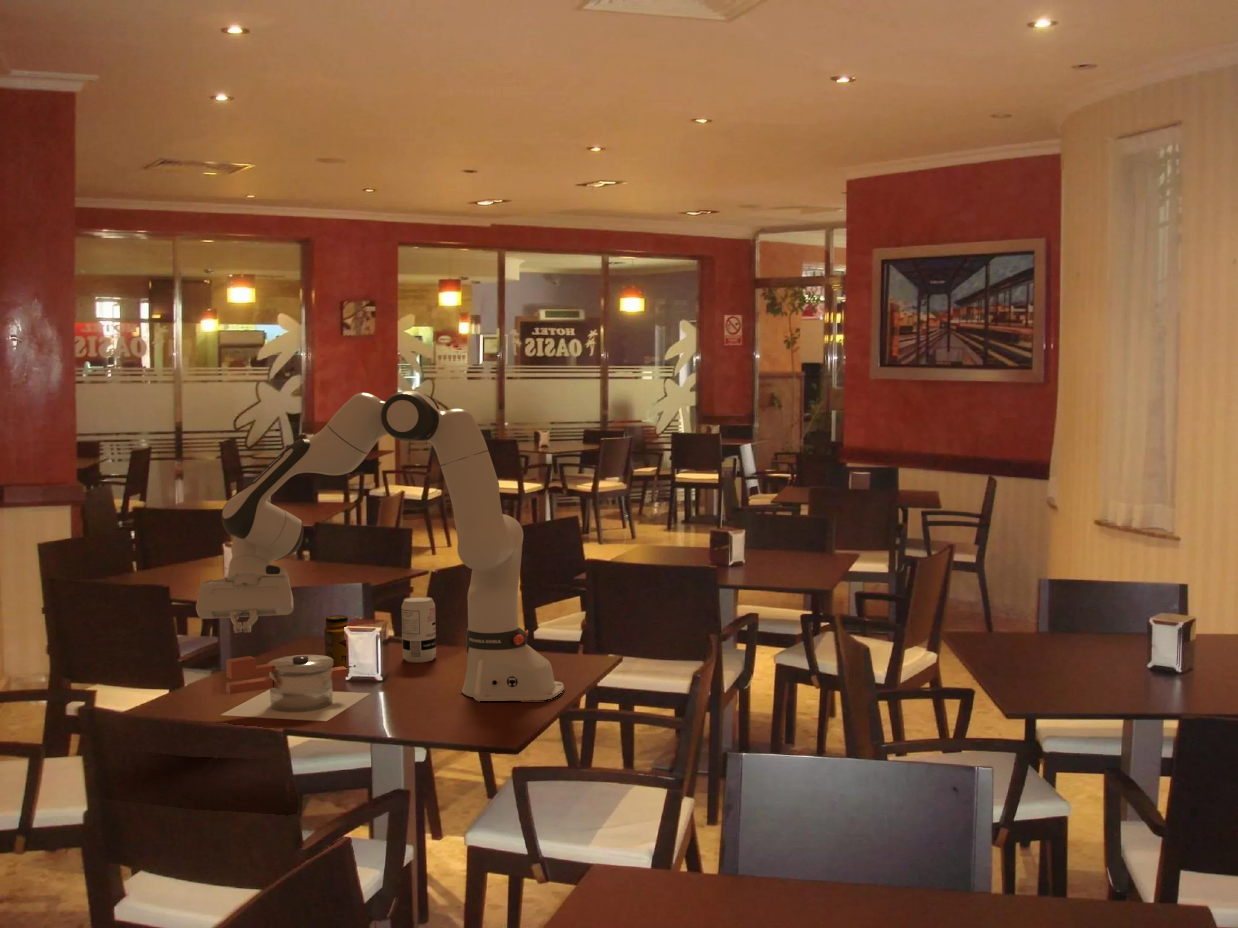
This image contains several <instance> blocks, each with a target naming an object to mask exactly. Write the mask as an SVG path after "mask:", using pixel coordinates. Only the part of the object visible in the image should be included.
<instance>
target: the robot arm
mask: <svg viewBox="0 0 1238 928" xmlns="http://www.w3.org/2000/svg"><path fill="white" fill-rule="evenodd" d="M387 435H390V436H391V437H392V438H394V439H396V440H398V441H403V442H404V441H405V442H410V443H411V442H413V443H415V442H420V441H422V442H423V441H427V442H428V443H430V444H431V446H432V447H433V449H434V451H435V454H436V456H437V460H438V463H439V465H440V468H441V469H440V470H441V473H442V475H443V478H444V481H445V485H446V487H447V490H448V494H449V497H450V501H451V506H452V513H453V520H454V526H455V531H456V532H455V533H456V536H457V547H456V549H457V553H458V557H459V559H460V561H461V562H462V563H463V565H465V567H467V568H469V569H471V575H470V576H471V577H470V583H469V587H468V591H467V622H468V623H467V624H468V625H467V626H468V627H467V629H466V634H465V635H466V636H465V646H466V653H467V661H466V662H467V664H466V671H465V672H466V673H465V677H464V683H463V686H462V690H461V692H462V694H463V695H465V696H466V697H469V698H472V697H473V699H474V700H475V701H477V702H480V701H507V700H546V699H551V698H552V697H555V696H557V695H558V694H560V693H562V694H563V692H564V691H565V686H564V683H563V682H561V681H556V680H555V675H554V671H553V670H554V669H553V667H552V664H551V662H550V660H548V659H547V658H546V657H545V656H543V655H542V654H540V653H539V652H538V651H536V650H535V649H533V647H531V646H530V645H528V636H529V630H528V629H526V630H525V631H524V630H523V629H522V628H521V627H520V626H519V597H518V596H519V584H520V583H519V582H520V577H521V576H520V573H521V568H522V567H521V565H522V556H523V555H522V552H523V543H524V530H523V527H522V526H521V524H520V522H519V521H518V520H517V519H516V518H514V517H512V516H510V515H508V514H503V510H502V502H501V495H500V483H499V479H498V476H497V473H496V469H495V466H494V464H493V460H492V457H491V455H490V454H491V453H490V452H489V449H488V445H487V442H486V440H485V437H484V435H483V433H482V431H481V429H480V427H479V425H478V423H477V421H476V419H475V417H474V415H473V414H472V413H471V412H470V411H469V410H467V409H463V408H451V409H447V410H441V409H440V407H439V405H438V404H437V402H436V401H435V400H434V399H433V398H432V397H431V396H429V395H427V394H425V393H422V392H420V391H417V390H404V391H399V392H396V393H393V394H392V395H391V396H389V397H388V398H387V399H386V401H385V400H382V399H380V398H379V397H377V396H376V395H374V394H372V393H368V392H359V393H356V394H354V395H352V397H351V398H349V400H347V402H345V403H344V404H343V405H342V406H341V407H340V408H339V409H338V410H337V412H335V414H334V415H333V416H332V417H331V418H330V420H329V421H328V422H327V423H326V424H325V425H324V427H323V428H322V429H321V430H320V431H318V432H317V433H315V434H314V435H312V436H310V437H308V438H300V439H297V440H295V441H294V442H292V443H291V444H290V445H289V446H287V447H286V448H285V449H284V450H283V451H282V452H280V453H279V455H277V456H276V457H275V458H274V459H273V460H272V461H271V462H270V463H269V464H268V465H267V466H266V467H265V468H263V470H262V471H261V472H259V474H258V475H256V477H255V478H253V479H252V480H251V481H250V482H249V483H248V484H247V485H246V486H244V487H243V488H242V489H241V490H239V491H237V492H236V493H235V494H233V495H232V496H231V497H230V498H229V499H228V500H227V501H226V502H225V504H224V505H223V507H222V510H221V515H220V516H221V522H222V526H223V528H224V531H226V533H227V534H228V535H230V536H233V538H232V543H231V551H230V552H231V558H230V561H229V564H228V571H227V578H220V579H207V580H206V581H204V582H202V583H200V584H199V587H198V591H197V592H198V596H197V600H196V604H195V610H196V613H197V616H198V617H199V618H200V619H201V620H205V619H206V620H208V619H209V620H210V619H211V620H212V619H226V618H229V619H230V621H231V623H232V624H233V627H232V628H233V633H234V634H238V633H239V634H240V633H242V632H243V633H251V632H252V627H253V625H255V624H256V622H257V620H258V619H259V617H264V616H265V617H270V616H271V617H272V616H286V615H287V616H288V615H291V613H292V612H293V611H294V597H293V591H292V587H291V583H290V582H291V581H290V576H289V573H288V571H287V569H286V567H284V566H280V565H275V564H271V563H272V562H273V561H274V562H277V561H281V560H282V559H285V558H287V557H289V556H291V555H293V554H295V553H296V552H297V551H298V550H299V549H300V547H301V545H302V543H303V539H304V531H305V529H304V524H303V521H302V520H301V519H300V518H298V517H297V516H295V515H294V514H292V513H290V512H288V511H287V510H285V509H283V508H280V507H278V506H277V505H275V504H272V503H271V502H269V501H267V500H268V499H270V498H271V497H272V495H273V494H274V493H276V492H277V490H279V489H280V488H281V487H282V486H283V485H284V484H285V483H286V482H287V481H288V480H289V479H290V478H292V477H293V476H295V475H298V474H305V473H308V474H309V473H313V474H321V475H327V476H342V475H345V474H349V473H352V472H353V471H355V470H356V469H357V468H358V467H359V466H360V464H361V463H363V462H364V460H365V458H366V457H367V456H368V455H369V454H370V452H371V451H372V449H373V448H374V447H375V445H376V444H377V443H378V442H379V441H380V440H381V439H383V437H385V436H387ZM247 617H249V618H248V619H247V621H242V622H241V621H238V620H239V618H247ZM563 690H564V691H563ZM562 691H563V692H562ZM560 695H561V694H560ZM551 700H552V699H551Z"/></svg>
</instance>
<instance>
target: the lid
mask: <svg viewBox="0 0 1238 928" xmlns="http://www.w3.org/2000/svg"><path fill="white" fill-rule="evenodd" d="M332 666H333V659H332V658H331V657H328V656H325V655H323V654H322V655H320V654H298V655H289V656H288V655H287V656H283V657H279V658H274V659H272V660H270V661H269V662H268V663H265V664H258V665H257V661H256V658H255V657H253V656H251V655H246V656H240V657H234V658H229V659H225V668H226V669H225V671H226V672H225V673H226V677H227V678H228V679H230V680H237V679H242V678H249V677H255V676H257V675H260V674H267V673H269V672H272V673H277V674H288V675H294V674H308V673H315V672H320V671H324V670H327V669H329V668H331V667H332Z"/></svg>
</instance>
